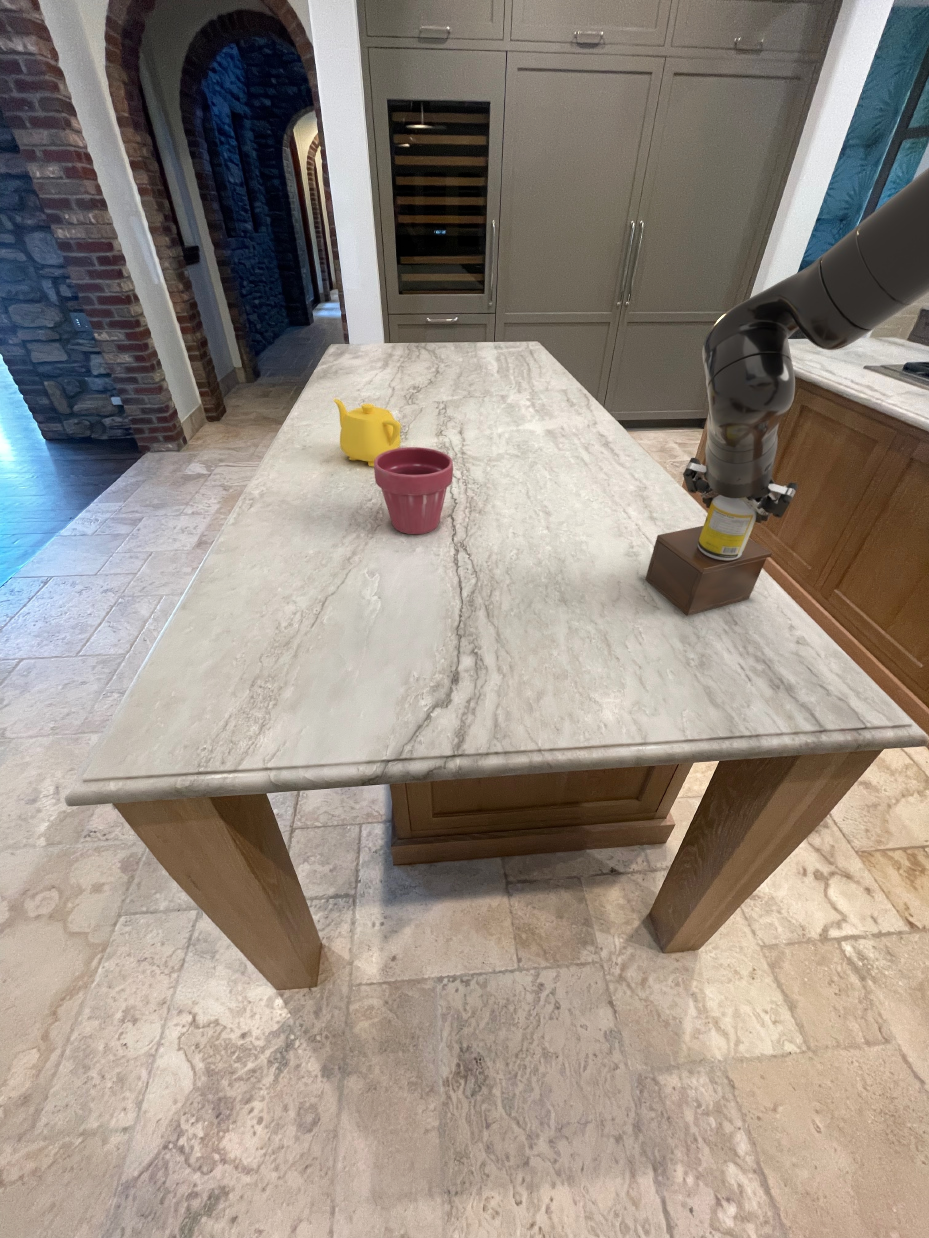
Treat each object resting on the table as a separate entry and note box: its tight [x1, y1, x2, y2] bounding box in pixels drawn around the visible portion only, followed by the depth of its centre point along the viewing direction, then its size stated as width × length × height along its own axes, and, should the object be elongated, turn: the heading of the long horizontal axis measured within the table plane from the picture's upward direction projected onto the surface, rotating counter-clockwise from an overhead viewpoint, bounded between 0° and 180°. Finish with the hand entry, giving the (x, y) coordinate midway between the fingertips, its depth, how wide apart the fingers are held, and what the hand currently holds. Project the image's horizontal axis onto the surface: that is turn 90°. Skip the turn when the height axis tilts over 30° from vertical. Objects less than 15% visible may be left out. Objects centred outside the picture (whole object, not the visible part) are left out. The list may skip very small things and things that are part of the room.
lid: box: [656, 525, 773, 573], centre depth 84 cm, size 13×11×1 cm
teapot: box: [333, 398, 402, 467], centre depth 127 cm, size 13×20×12 cm
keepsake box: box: [644, 539, 767, 617], centre depth 86 cm, size 13×11×8 cm
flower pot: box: [373, 446, 454, 535], centre depth 101 cm, size 14×14×13 cm
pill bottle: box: [698, 495, 757, 560], centre depth 78 cm, size 6×6×12 cm
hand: (735, 509), depth 79 cm, fingers closed on pill bottle, 6 cm apart
